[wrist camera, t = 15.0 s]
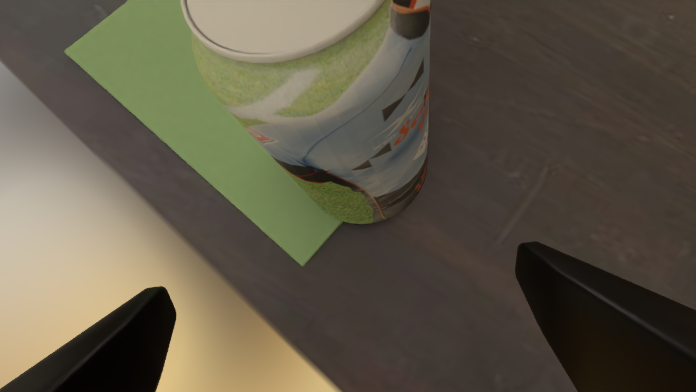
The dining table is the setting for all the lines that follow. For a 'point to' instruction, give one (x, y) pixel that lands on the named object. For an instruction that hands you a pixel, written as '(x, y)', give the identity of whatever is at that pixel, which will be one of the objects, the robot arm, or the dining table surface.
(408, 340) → the dining table surface
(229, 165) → the green mat
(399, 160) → the beverage can
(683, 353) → the robot arm
